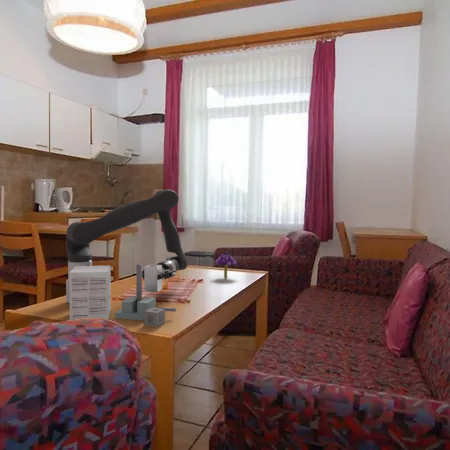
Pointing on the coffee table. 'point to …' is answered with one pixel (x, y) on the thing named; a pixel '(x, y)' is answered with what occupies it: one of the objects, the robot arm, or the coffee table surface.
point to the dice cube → (154, 317)
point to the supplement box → (90, 292)
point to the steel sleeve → (152, 278)
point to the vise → (138, 302)
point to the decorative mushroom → (226, 261)
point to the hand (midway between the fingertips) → (151, 277)
